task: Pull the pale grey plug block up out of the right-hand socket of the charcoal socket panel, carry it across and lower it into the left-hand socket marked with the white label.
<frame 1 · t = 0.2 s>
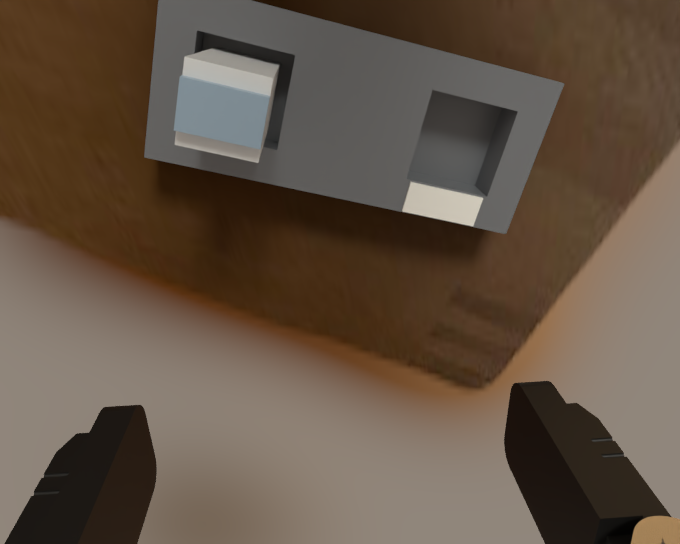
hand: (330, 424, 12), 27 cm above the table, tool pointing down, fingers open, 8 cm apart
socket panel: (349, 112, 36), on the table
plug: (243, 88, 34), point 1 cm above the table, touching socket panel
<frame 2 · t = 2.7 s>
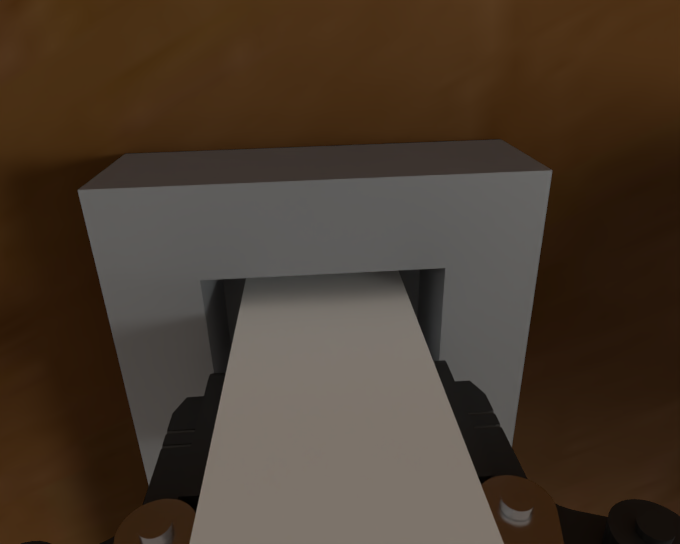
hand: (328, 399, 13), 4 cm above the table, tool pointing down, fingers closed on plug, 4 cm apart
socket panel: (330, 479, 19), on the table
plug: (324, 320, 16), point 1 cm above the table, touching gripper, socket panel
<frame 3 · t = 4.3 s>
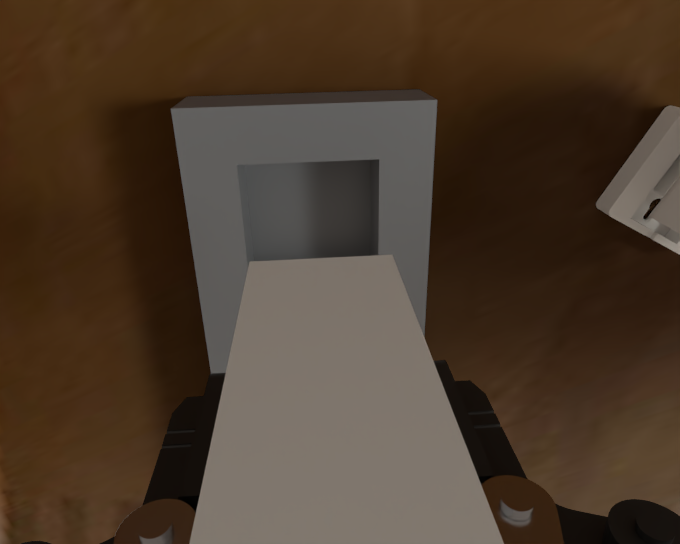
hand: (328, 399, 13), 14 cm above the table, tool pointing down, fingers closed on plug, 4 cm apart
white cube on bracket: (678, 166, 26), on the table
socket panel: (315, 331, 28), on the table
plug: (324, 319, 16), point 10 cm above the table, touching gripper
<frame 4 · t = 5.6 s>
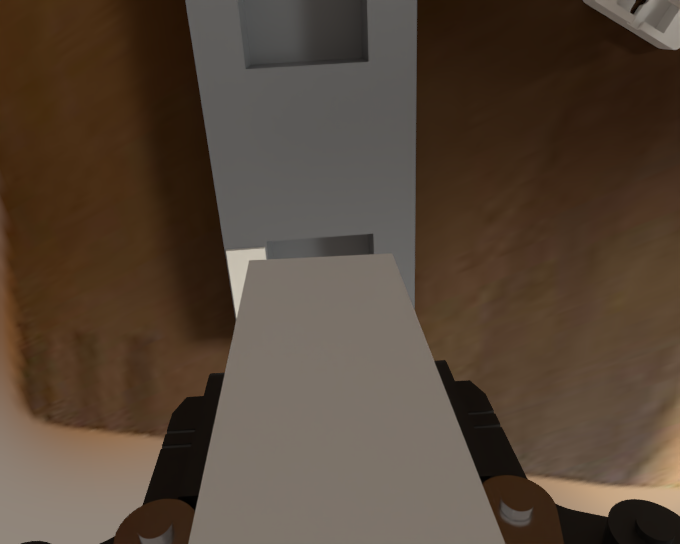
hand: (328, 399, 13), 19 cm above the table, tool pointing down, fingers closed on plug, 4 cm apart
socket panel: (312, 143, 29), on the table
plug: (323, 318, 16), point 16 cm above the table, touching gripper
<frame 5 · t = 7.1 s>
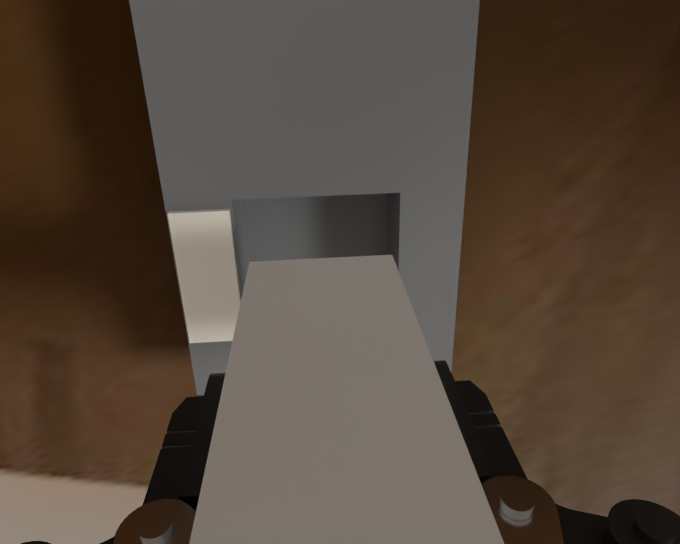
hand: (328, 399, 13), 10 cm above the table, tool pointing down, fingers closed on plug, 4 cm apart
socket panel: (309, 54, 19), on the table
plug: (323, 320, 16), point 7 cm above the table, touching gripper
when the fingers open (5 cm above the table, at t = 8.5 s): plug stays where it is, resting on socket panel.
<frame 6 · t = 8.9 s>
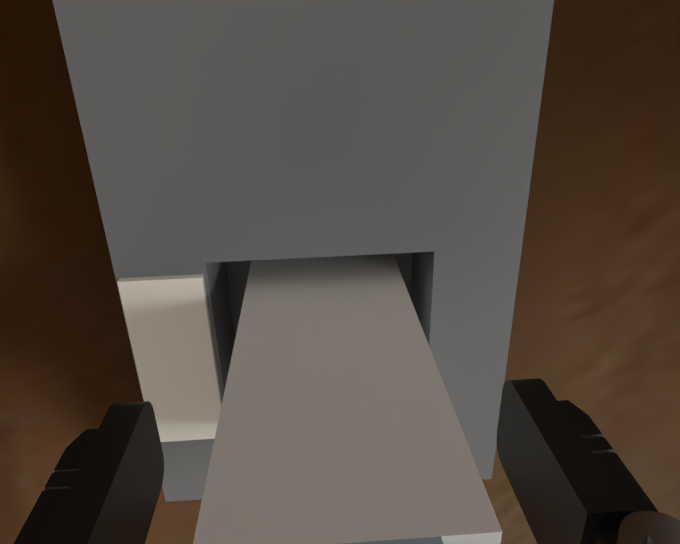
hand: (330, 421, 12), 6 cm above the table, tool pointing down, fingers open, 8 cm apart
socket panel: (310, 63, 14), on the table
plug: (324, 304, 17), point 1 cm above the table, touching socket panel
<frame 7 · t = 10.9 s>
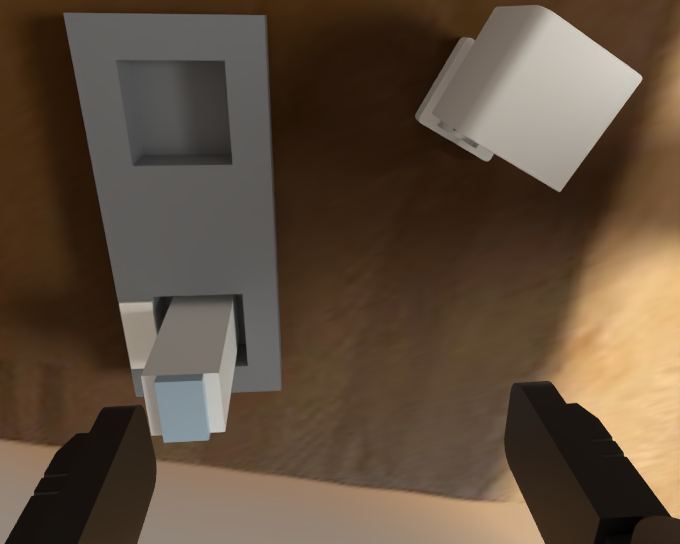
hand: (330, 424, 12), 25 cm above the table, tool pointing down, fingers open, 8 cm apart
white cube on bracket: (478, 88, 34), on the table
socket panel: (199, 215, 35), on the table
plug: (208, 312, 38), point 1 cm above the table, touching socket panel
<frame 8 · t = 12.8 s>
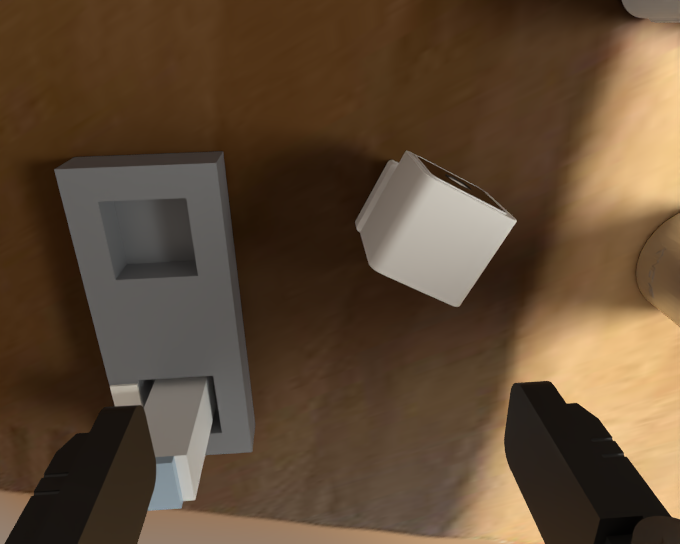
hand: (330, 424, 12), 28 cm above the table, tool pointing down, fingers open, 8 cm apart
white cube on bracket: (408, 198, 39), on the table
socket panel: (176, 308, 42), on the table
plug: (188, 386, 44), point 1 cm above the table, touching socket panel
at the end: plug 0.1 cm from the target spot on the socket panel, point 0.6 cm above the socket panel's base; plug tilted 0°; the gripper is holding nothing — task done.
